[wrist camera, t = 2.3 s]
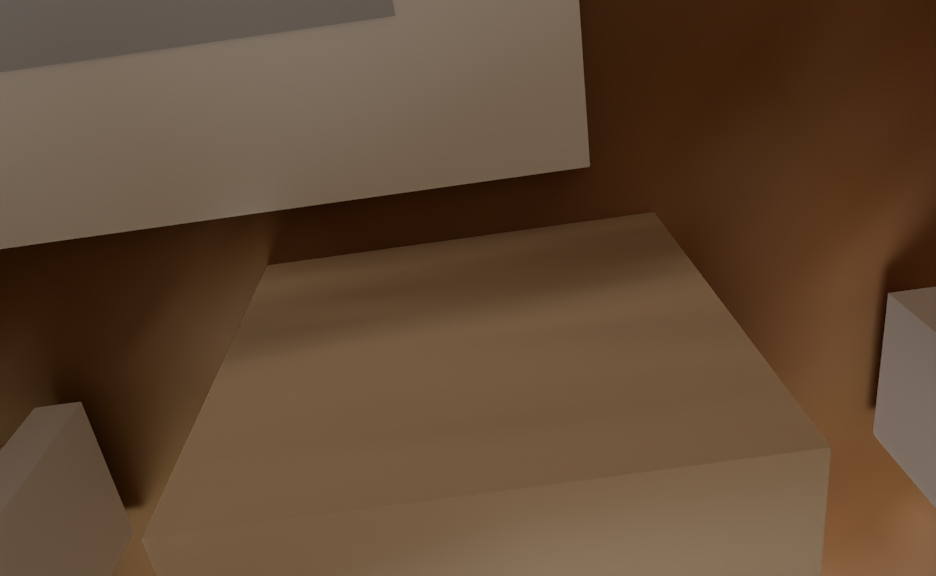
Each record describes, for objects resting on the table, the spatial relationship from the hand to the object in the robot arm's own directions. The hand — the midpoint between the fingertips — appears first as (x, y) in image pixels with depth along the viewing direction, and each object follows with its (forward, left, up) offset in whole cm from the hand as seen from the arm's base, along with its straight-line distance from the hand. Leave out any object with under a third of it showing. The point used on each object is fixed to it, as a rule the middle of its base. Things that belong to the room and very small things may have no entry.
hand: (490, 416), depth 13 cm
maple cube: (0, 0, 0) cm, 1 cm away
